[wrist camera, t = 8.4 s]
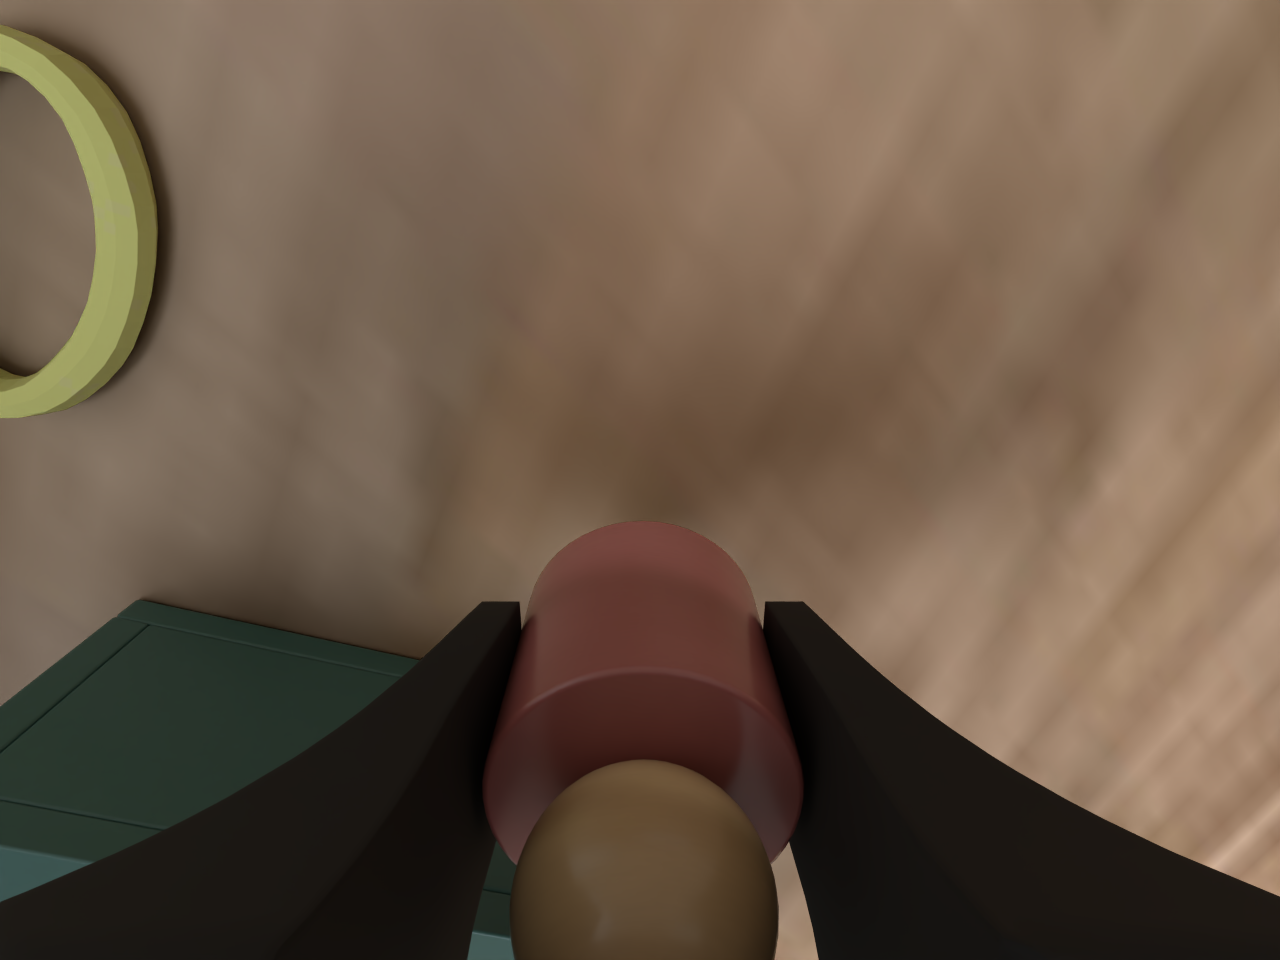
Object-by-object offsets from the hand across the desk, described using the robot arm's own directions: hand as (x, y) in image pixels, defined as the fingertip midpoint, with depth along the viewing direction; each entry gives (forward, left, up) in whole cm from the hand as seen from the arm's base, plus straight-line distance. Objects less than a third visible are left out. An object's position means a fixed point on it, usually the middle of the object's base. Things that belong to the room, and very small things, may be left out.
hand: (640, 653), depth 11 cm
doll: (0, 0, -1) cm, 1 cm away
